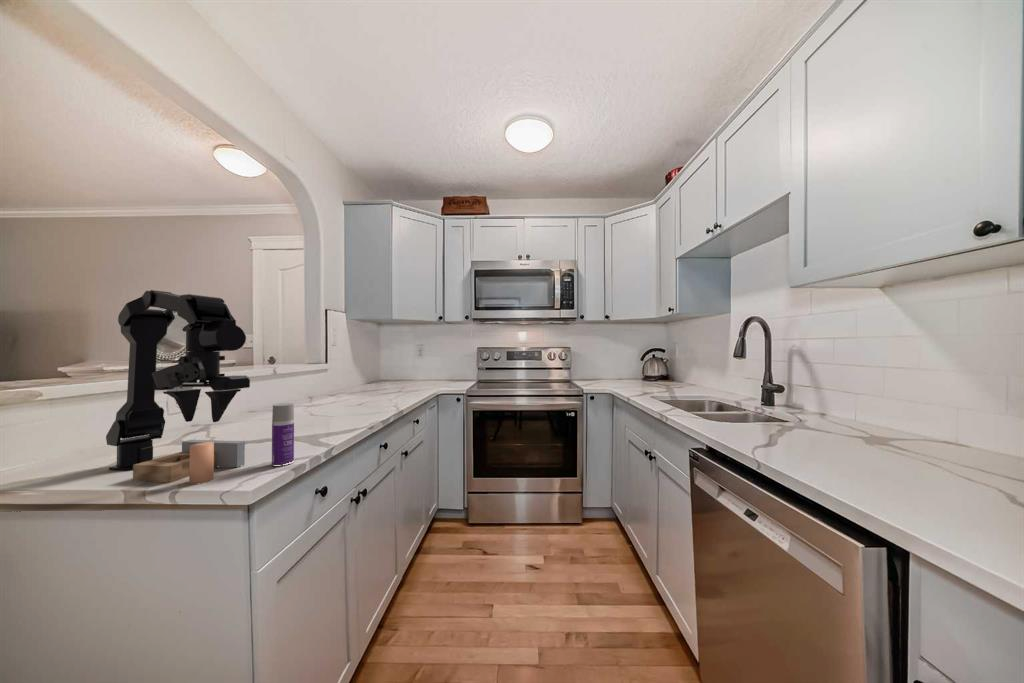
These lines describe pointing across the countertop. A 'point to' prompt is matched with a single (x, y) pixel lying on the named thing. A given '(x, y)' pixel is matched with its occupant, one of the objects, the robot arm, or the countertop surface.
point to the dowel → (201, 462)
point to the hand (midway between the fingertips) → (202, 421)
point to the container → (282, 433)
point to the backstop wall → (223, 451)
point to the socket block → (164, 468)
